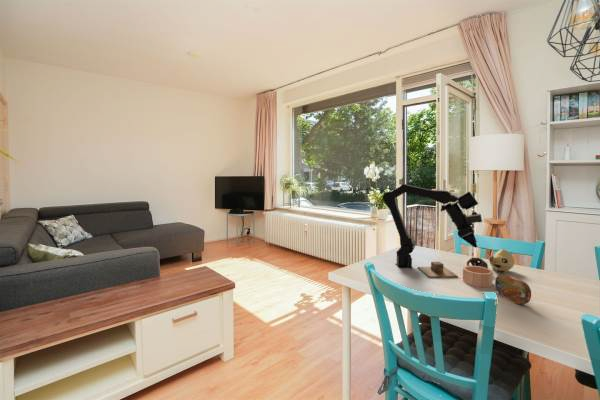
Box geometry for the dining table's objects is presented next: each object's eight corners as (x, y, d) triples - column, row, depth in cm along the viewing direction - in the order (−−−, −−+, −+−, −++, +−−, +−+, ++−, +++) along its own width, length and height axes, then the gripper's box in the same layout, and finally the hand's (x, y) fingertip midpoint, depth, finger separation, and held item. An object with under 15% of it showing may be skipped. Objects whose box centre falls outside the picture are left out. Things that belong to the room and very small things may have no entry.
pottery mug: (495, 277, 141) (489, 263, 139) (474, 284, 143) (469, 271, 141) (482, 263, 152) (477, 250, 150) (463, 270, 154) (458, 257, 152)
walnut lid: (428, 277, 138) (429, 267, 137) (417, 268, 151) (418, 259, 150) (457, 277, 138) (458, 267, 137) (444, 268, 151) (444, 258, 150)
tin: (493, 291, 124) (495, 271, 123) (501, 291, 124) (502, 270, 123) (523, 308, 109) (525, 285, 108) (532, 307, 109) (533, 285, 108)
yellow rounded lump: (484, 271, 147) (485, 249, 146) (493, 266, 155) (494, 245, 154) (508, 277, 140) (509, 254, 139) (516, 271, 148) (517, 249, 146)
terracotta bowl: (471, 288, 127) (472, 274, 126) (457, 278, 138) (458, 265, 137) (497, 288, 127) (498, 274, 126) (482, 278, 138) (482, 265, 137)
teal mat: (427, 279, 137) (427, 278, 137) (414, 268, 152) (415, 267, 152) (461, 279, 137) (461, 278, 137) (445, 268, 152) (445, 267, 152)
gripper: (474, 208, 130) (496, 241, 127) (473, 204, 146) (492, 232, 143) (449, 221, 135) (469, 252, 132) (451, 215, 151) (469, 243, 148)
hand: (476, 244), depth 139 cm, fingers open, 9 cm apart
